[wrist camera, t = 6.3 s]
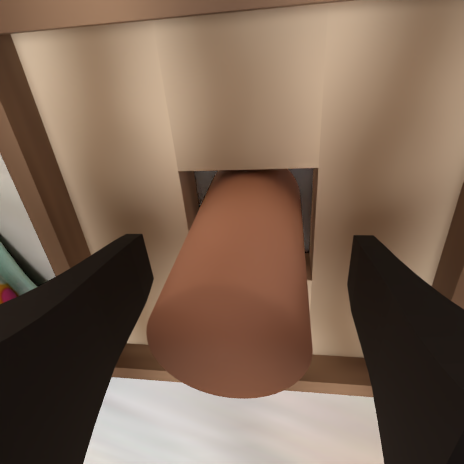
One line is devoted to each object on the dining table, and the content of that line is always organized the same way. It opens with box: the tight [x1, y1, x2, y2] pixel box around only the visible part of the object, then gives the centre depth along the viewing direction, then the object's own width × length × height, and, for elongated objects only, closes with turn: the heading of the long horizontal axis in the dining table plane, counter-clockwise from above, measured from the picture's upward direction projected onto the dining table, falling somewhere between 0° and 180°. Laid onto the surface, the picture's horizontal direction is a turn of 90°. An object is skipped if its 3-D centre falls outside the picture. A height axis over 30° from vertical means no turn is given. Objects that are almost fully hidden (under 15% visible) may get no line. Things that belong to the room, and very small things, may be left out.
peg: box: [146, 169, 313, 398], centre depth 11 cm, size 4×4×8 cm
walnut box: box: [0, 0, 464, 397], centre depth 13 cm, size 16×16×4 cm
